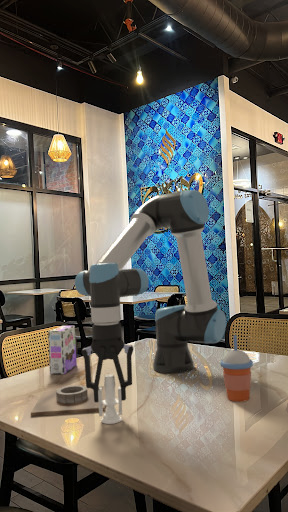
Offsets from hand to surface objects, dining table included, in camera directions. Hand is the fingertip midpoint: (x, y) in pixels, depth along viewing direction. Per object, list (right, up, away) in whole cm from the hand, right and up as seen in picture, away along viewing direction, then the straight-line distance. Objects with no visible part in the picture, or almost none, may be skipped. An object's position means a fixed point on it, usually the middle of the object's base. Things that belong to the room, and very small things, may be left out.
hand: (110, 413), depth 107 cm
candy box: (-23, -4, +55) cm, 59 cm away
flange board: (-13, -3, +16) cm, 21 cm away
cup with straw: (+36, 0, +12) cm, 37 cm away
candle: (0, -2, 0) cm, 2 cm away
